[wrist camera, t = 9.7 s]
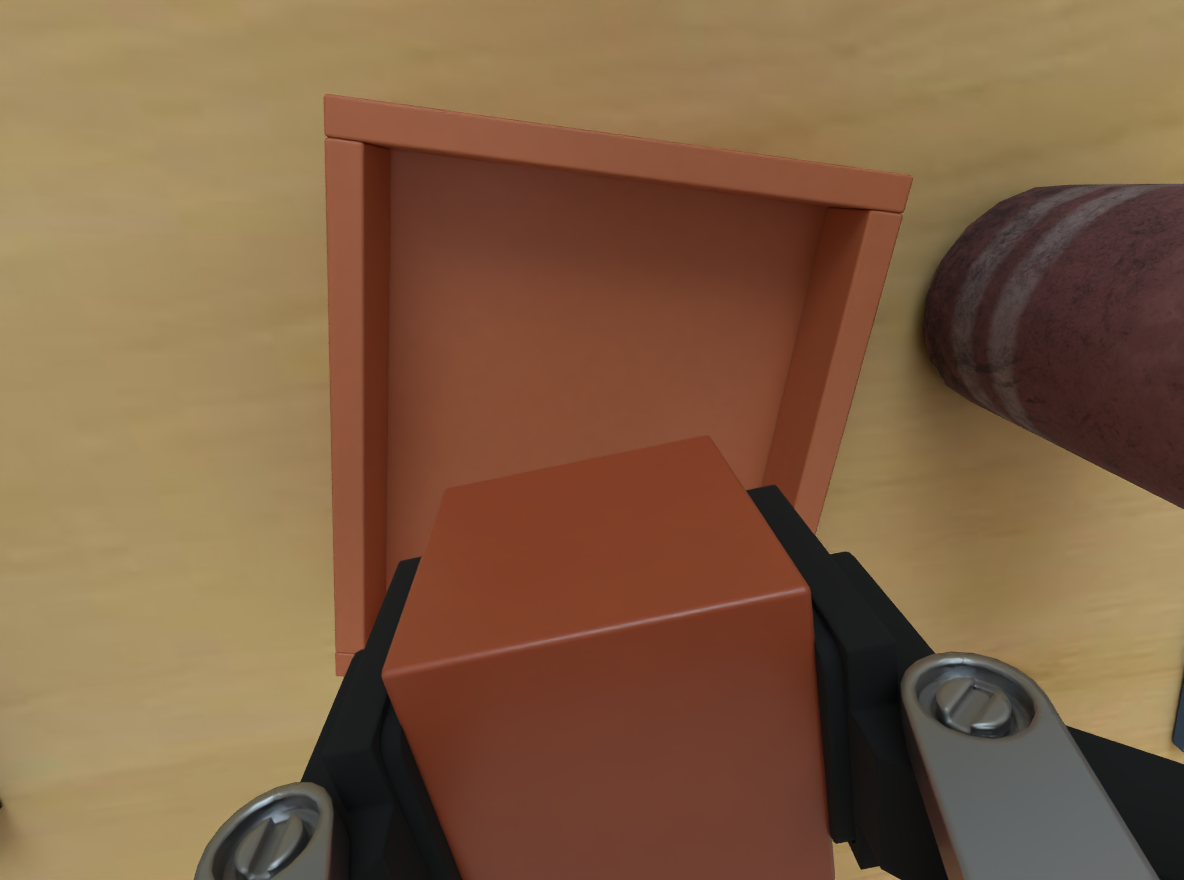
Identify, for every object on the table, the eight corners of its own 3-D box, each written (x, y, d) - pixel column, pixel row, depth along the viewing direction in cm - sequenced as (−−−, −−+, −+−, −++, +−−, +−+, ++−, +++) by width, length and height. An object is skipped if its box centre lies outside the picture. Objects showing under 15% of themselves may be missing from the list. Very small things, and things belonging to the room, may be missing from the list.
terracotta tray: (363, 110, 16) (322, 92, 13) (854, 177, 17) (915, 175, 14) (364, 609, 21) (335, 676, 18) (742, 634, 22) (771, 700, 19)
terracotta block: (443, 487, 11) (376, 674, 7) (709, 432, 11) (812, 587, 7) (508, 696, 12) (488, 953, 8) (739, 649, 12) (837, 884, 8)
